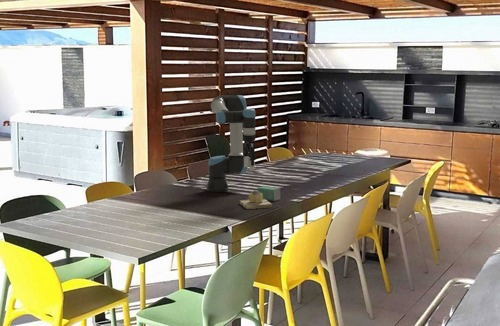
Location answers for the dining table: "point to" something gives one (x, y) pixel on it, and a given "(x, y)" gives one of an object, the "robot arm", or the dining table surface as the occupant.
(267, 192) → the box
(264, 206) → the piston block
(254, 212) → the dining table surface
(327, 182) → the dining table surface
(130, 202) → the dining table surface
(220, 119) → the robot arm
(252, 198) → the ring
